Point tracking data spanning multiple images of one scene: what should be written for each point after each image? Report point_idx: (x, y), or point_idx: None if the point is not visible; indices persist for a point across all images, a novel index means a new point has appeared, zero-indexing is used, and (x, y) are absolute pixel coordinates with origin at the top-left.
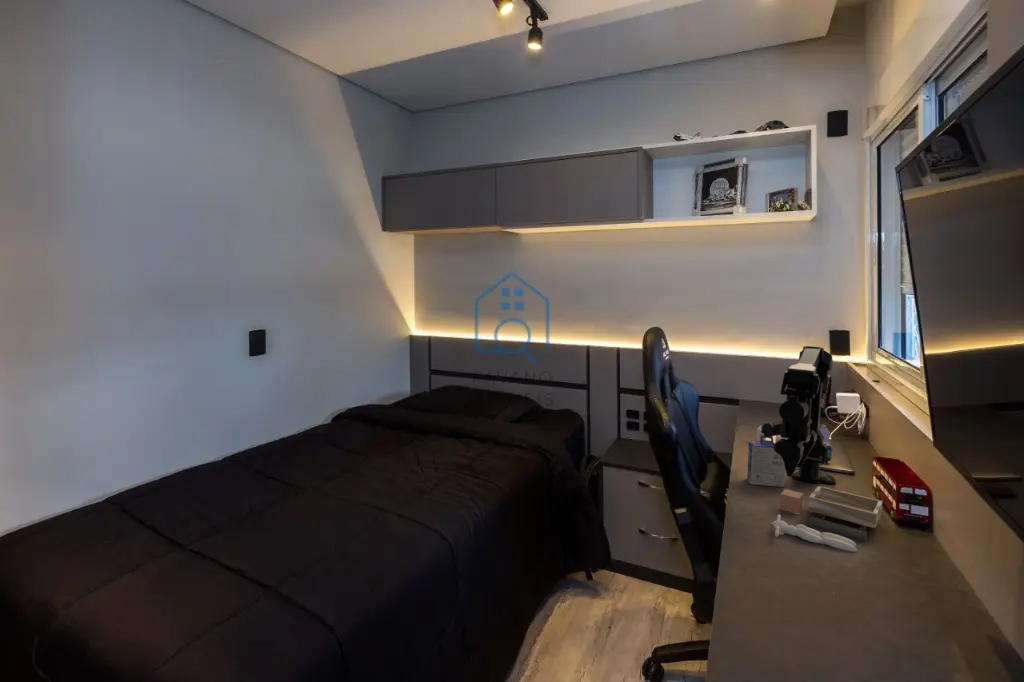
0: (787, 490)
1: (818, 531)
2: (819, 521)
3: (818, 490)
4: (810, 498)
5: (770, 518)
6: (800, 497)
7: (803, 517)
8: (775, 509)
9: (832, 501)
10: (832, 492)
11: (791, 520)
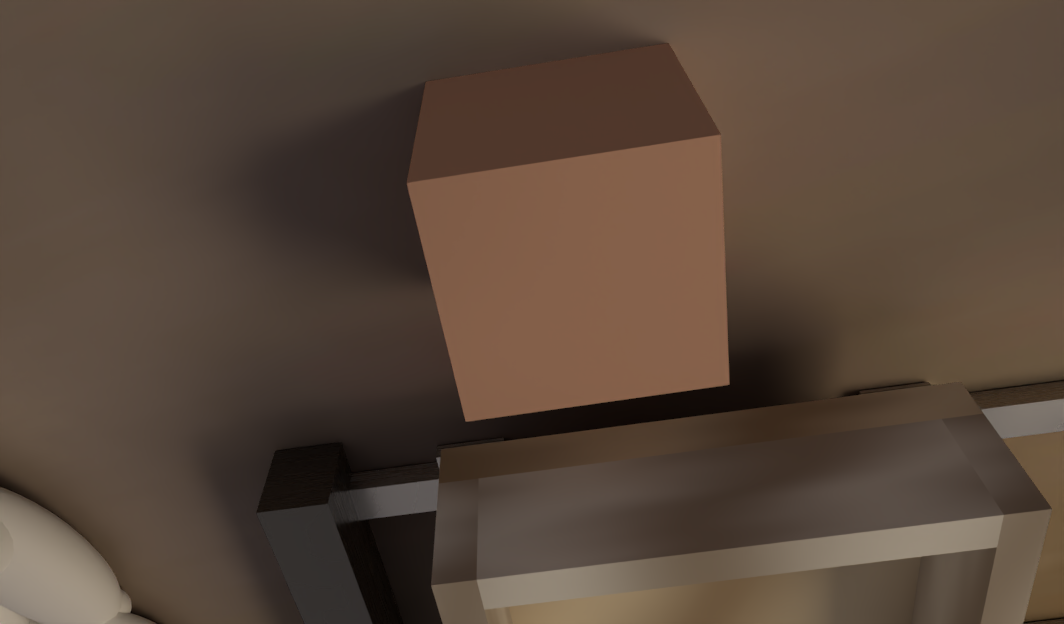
0: (670, 190)
1: (79, 622)
2: (287, 577)
3: (831, 565)
4: (434, 592)
5: (28, 128)
6: (544, 404)
7: (438, 350)
8: (373, 41)
9: (841, 569)
10: (958, 618)
11: (233, 305)
